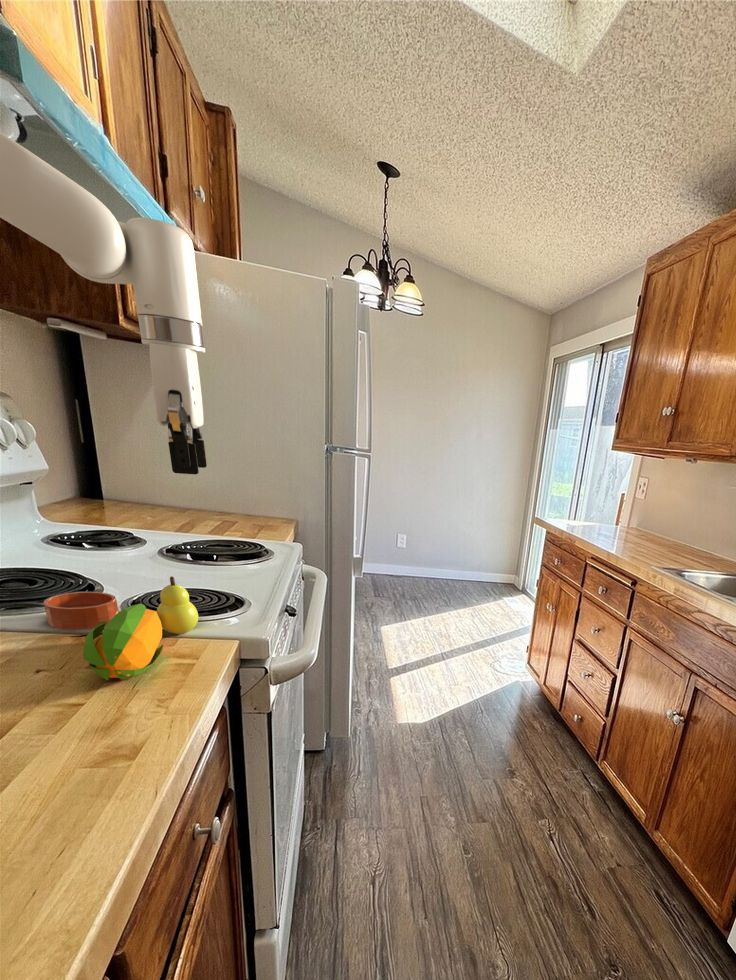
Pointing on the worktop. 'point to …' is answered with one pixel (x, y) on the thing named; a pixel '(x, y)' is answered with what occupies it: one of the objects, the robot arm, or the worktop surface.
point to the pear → (176, 609)
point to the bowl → (80, 610)
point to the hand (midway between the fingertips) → (190, 470)
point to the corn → (124, 643)
